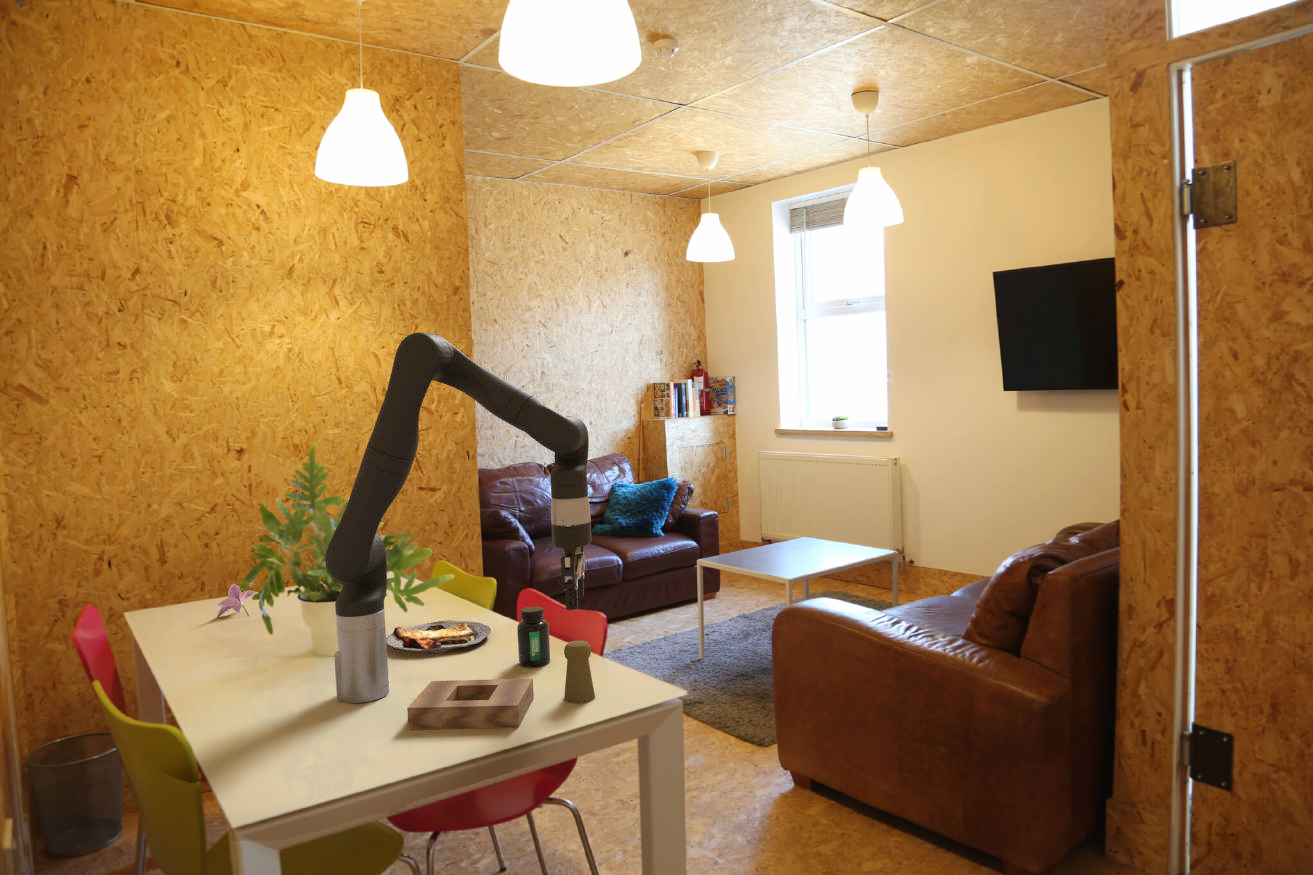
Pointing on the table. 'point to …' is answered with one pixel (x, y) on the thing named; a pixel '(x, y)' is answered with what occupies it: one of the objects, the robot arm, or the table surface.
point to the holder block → (471, 704)
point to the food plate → (437, 636)
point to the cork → (578, 673)
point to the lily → (234, 599)
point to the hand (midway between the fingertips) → (575, 603)
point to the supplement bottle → (533, 638)
